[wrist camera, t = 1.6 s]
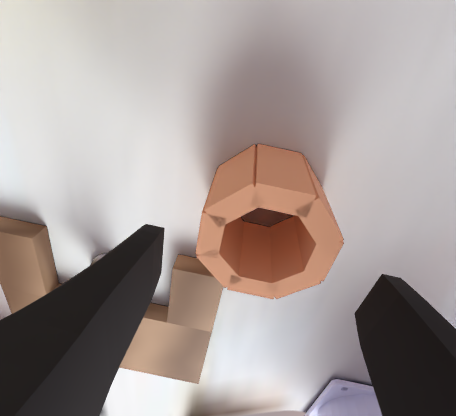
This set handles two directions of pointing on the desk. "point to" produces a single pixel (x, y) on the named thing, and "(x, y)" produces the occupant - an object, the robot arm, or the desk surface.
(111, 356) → the robot arm
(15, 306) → the wooden u-shaped block
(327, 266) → the hollow octagonal tube
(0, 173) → the desk surface
